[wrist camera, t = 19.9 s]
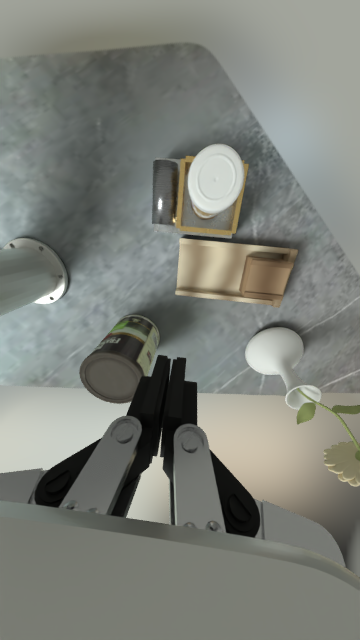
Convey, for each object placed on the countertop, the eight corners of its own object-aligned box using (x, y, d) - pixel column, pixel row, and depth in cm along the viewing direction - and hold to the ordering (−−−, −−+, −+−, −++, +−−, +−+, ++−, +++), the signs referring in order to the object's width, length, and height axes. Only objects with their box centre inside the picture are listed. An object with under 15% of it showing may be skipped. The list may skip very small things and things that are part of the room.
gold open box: (158, 231, 33) (149, 231, 26) (160, 166, 29) (150, 148, 23) (227, 237, 32) (235, 239, 26) (239, 173, 29) (251, 155, 22)
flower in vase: (240, 367, 44) (287, 512, 21) (247, 322, 39) (319, 448, 16) (299, 370, 43) (415, 525, 20) (314, 324, 38) (488, 461, 15)
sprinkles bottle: (185, 196, 27) (176, 167, 15) (214, 175, 26) (230, 125, 14) (200, 226, 29) (204, 223, 16) (228, 208, 27) (255, 189, 15)
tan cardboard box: (238, 289, 35) (243, 296, 31) (245, 255, 32) (252, 258, 29) (272, 293, 35) (281, 301, 31) (282, 259, 32) (294, 263, 28)
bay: (176, 290, 37) (174, 296, 34) (181, 237, 33) (179, 238, 30) (272, 301, 37) (279, 307, 33) (288, 248, 32) (298, 249, 29)
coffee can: (105, 328, 42) (65, 370, 29) (140, 305, 39) (113, 341, 26) (134, 361, 45) (109, 412, 33) (169, 342, 42) (157, 389, 30)
